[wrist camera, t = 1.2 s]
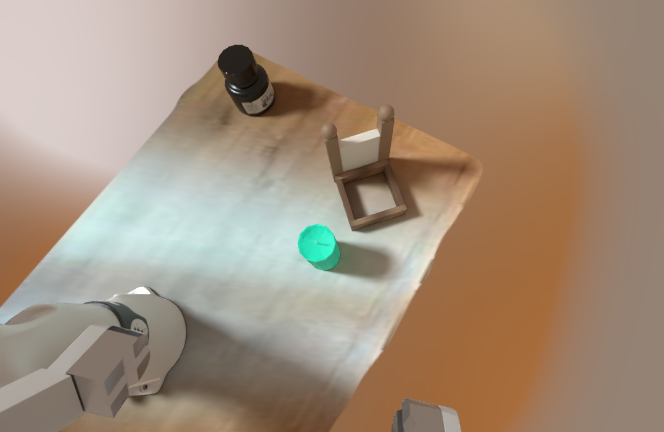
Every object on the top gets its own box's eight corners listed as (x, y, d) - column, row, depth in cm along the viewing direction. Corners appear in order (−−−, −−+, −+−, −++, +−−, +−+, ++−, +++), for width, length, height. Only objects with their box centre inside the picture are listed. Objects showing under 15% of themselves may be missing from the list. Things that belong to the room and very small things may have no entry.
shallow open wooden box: (351, 230, 61) (351, 226, 58) (336, 181, 64) (334, 175, 62) (405, 214, 61) (407, 209, 58) (386, 166, 64) (387, 159, 61)
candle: (319, 233, 62) (308, 214, 50) (346, 248, 60) (341, 233, 49) (302, 260, 61) (287, 247, 49) (329, 276, 59) (321, 267, 48)
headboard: (334, 183, 64) (322, 136, 47) (330, 173, 65) (318, 122, 48) (389, 166, 64) (397, 112, 47) (385, 155, 65) (391, 99, 48)
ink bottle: (257, 125, 70) (235, 88, 59) (227, 106, 72) (201, 67, 61) (284, 92, 72) (269, 50, 60) (254, 75, 74) (234, 31, 63)
